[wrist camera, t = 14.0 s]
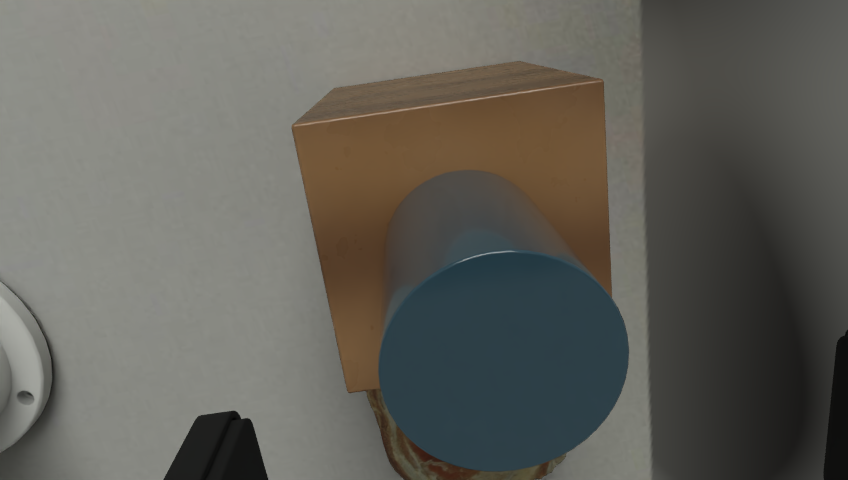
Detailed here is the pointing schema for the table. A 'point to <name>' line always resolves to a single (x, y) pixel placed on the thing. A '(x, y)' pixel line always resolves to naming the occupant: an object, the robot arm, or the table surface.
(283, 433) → the table surface
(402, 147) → the stand
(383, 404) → the stone
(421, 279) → the blue glossy cylinder
